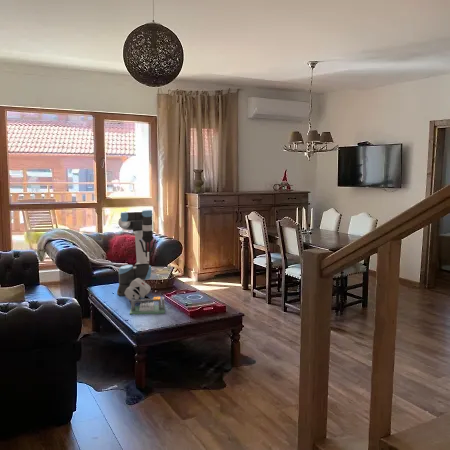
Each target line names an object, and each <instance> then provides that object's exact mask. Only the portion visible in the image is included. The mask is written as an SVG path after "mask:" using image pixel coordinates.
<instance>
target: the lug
mask: <svg viewBox="0 0 450 450" xmlns="http://www.w3.org/2000/svg"><path fill="white" fill-rule="evenodd" d="M158 305H159V310H164V305H165V296H162V297H161V300H160V301H158Z"/></svg>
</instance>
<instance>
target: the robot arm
mask: <svg viewBox="0 0 450 450" xmlns="http://www.w3.org/2000/svg"><path fill="white" fill-rule="evenodd" d="M117 224H118V225H119V227H120V229H123V230H125V231H132V232H133V234H134V239H135V240H134V243H135V255H136V263H135V264H134V266H133V264H126V265H122V266H120V267H119V268H118V287H117V291H116V294H117V295H118V296H120V297H121V296H122V297H126V295H125V294H124V293H125V290H126V288H128V287H129V286H130V284H131V282H132V281H133V280H135V279H136V278H140V279H141V280H143V281H147V280H150V279H151V277H152V265H150V258H151V257H152V254H151V253H153V252H154V248H155V244H156V242H157V239H156V238H154V235H153V234H154V232H153V231H154V230H153V225H154V224H153V210H152V209H143V210H139V211H136V210H135V211H121V212H120V218H119V219H118V222H117ZM151 242H152V247H151Z"/></svg>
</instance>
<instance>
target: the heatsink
mask: <svg viewBox="0 0 450 450" xmlns="http://www.w3.org/2000/svg"><path fill="white" fill-rule="evenodd" d="M139 303H140V304H139V306H140V312H148V311H154V305H155V302H146V303H145V302H143V303H142V302H139Z"/></svg>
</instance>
